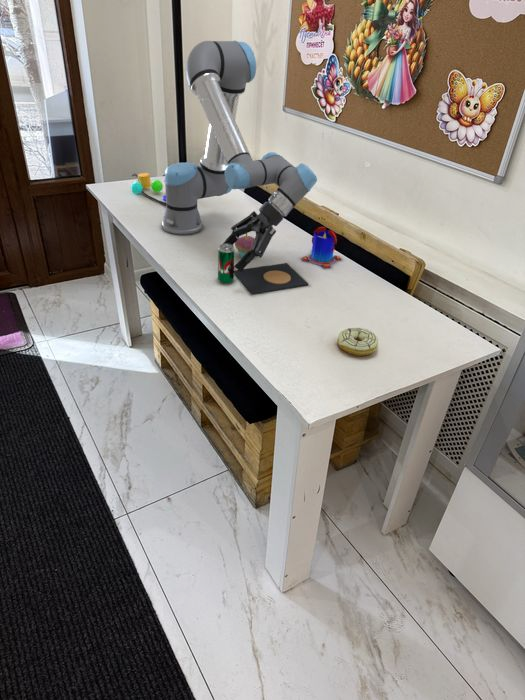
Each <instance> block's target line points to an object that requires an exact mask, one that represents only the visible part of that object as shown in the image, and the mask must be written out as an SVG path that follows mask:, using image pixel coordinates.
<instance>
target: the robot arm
mask: <svg viewBox="0 0 525 700" xmlns="http://www.w3.org/2000/svg"><path fill="white" fill-rule="evenodd" d="M185 71H186V74H185V75H186V79H187V83H188V86H189V88H190V90H191V93H192V94H193V95H194V96H197V99H198V101H199V103H200V105H201V107H202V110H203V112H204V114H205V117H206V119H207V121H208V123H209V125H208V131H207V138H206V139H207V140H206V147H205V153H204V154H203V155H202V156H201V157H200V159H199V165H196V164H195V163H193V162H188V161H186V162H183V161H182V162H177V163H173V164H171V165H169V166H167V168H166V169H165V171H164V188H165V189H164V190H165V195H166V202H165V201H163V200H159V199H157V198H155V197H153V196H150V195H149V194H147V193H146V192H144V191H143V190H142V192H141V193H140V194H142V195H144V196H145V197H147V198H148V199H151V200H152V201H155V202H157V203H160V204H162V205H164V206H165V210H164V211H165V212H164V215H163V218H162V222H161V225H162V229H163V231H165V232H166V233H169V234H172V235H177V236H179V235H180V236H187V235H194V234H196V233H199V232H200V231H202V229H203V221H202V217H201V215H200V212H199V208H198V200H200V199H207V198H213V197H221V196H224V195H228V194H229V193H230V192H231V191H232V190H245V189H248V188H253V187H258V186H259V187H260V186H267V185H272V184H275V185H276V186H278V187H277V189H276V190H275V191H274V192H273V193H272V194H271V195H270V196H269V197H268V199H267V200H268V201H265V202H263V204H262V205H261V206H260V207H259V208H258V211H259V214H258V213H257V212H256V211H254V210H253V211H252V212H251V213H250V214H249V215H247V216H246V217H244V218H243V219H242V220H240V221H238V222H236V223H235V224H234V225H232V226H231V227H230V230H231V234H230V235H228V236H227V238H226V239H225V240H224V241H223V243H222V244H231V245H233V246H234V245H235V242H236V241H237V240H238V239H239V238H240V237H242V236H245V235H246V233H247V234H249V233H251V232H255V236H254V238H255V239H254V243H253V246H252V249H250V250H249V251H248V252H247V253H246V254H245V255H244V256H243V257H242V258H241V257H240V259H239V260H238V261H237V262H236V263H235V264H234V269H236V270H239V271H240V272H241V271H242V270H243V269H246V267H247V266H248V265H250V263H251V262H252V261H253V260H255V258H258V257H259V258H263V256H264V254H265V252H266V250H267V248H268V246H269V245H270V242H271V240H272V238H274V237H273V236H275V234H276V233H277V230H276V229H275V228H274V227H277V226H279V224H280V223H281V222H282V221H283V220H284V217H287V216H288V215H289V213H291V211H292V210H293V209H294V208H295V207H296V205H297V204H298V203H299V202H300V201H301V200H302V199H303V198H305V196H306V195H307V194H308V193H309V192H310V191H311V190H312V188H313V187H314V186H315V185H316V183H317V182H318V177H317V175H316V174H315V172H314V171H313V170H312V169H311V168H310V167H309V165H306V164H305V163H299V164H298V165H297V166H295V165H293V164H292V163H290V161H288V159H286V158H285V157H283V156H282V155H280V154H278V153H277V152H274V151H270V152H267V153H266V154H265V155H263V156H262V157H261V159H254V160H253V158H252V156H251V154H250V151H249V149H248V146H247V145H246V142H245V140H244V138H243V136H242V133H241V131H240V128H239V126H238V124H237V122H236V116H237V111H238V106H239V100H240V96H241V95H243V94H244V93H245V91H246V86H247V83H251V82H252V81H254V79H255V77H256V73H257V61H256V56H255V53H254V51H253V49H252V47H251V46H250V45H249V44H248V43H247V42H245V41H238V40H203V41H201V42H199V43H197V44H196V45H195V46H193V48H192V49H191V50H190V52H189V54H188V57H187V61H186V68H185ZM131 177H136V178H137V179H138V174H136V173H132V174H131ZM273 226H274V227H273Z"/></svg>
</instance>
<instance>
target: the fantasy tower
mask: <svg viewBox="0 0 525 700" xmlns="http://www.w3.org/2000/svg"><path fill="white" fill-rule="evenodd" d="M337 241H338V238H337V235H336V233H335V232H334V231H333V230H332V229H327V227H325V226H320V227H317V228H316V229H315V230H314V231H313V236H311V243H312V246H311V254H310V255H309V256H307V255H306V256H303V257H301V261H302V262H306V263H311V264H315V265H318V266H320V267H321V268H323V269H331V268H332V266H331V265H333V264H334V263H336V262H339V261H342V259H341V257H340V256H339V255H334V253H335V249H336V247H335V245H337Z"/></svg>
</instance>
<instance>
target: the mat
mask: <svg viewBox="0 0 525 700" xmlns="http://www.w3.org/2000/svg"><path fill="white" fill-rule="evenodd" d="M234 276H235V277H236V278H237V279H238V280H239V281H240V282H241V284H242V285H243V286H244V287H245V289H246V290H247V291H248V292H249V293H250V294H251V295H253V296H254V295H258V294H260V295H261V294H265V293H271V292H277V291H283V290H290V289H295V288H302V287H309V283H308V282H307V281H306V280H305V279H304V278H303V277H302V276H301V275H300V274H299V273H298V272H297V271H296V270H295V269H294V268H292V266H290V265H289V264H288V263H287V262H285V263H277V264H270V265H263V266H256V267H250V268H244V269H243V270H242V271H241V272H240V271H239V270H238V269H234Z"/></svg>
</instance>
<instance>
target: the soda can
mask: <svg viewBox="0 0 525 700" xmlns="http://www.w3.org/2000/svg"><path fill="white" fill-rule="evenodd" d="M235 251H236V250H235V247H234V244H233V245H231V244H223V243H221V244H220V245H219V247H218V250H217V252H218V253H217V254H218V255H217V263H218V264H217V280H218V282H219V283H221V284H223V285H228V284H229V285H230V284H232V282H234V280H235V274H234V270H235V267H234V266H235V254H236V253H235Z"/></svg>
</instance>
